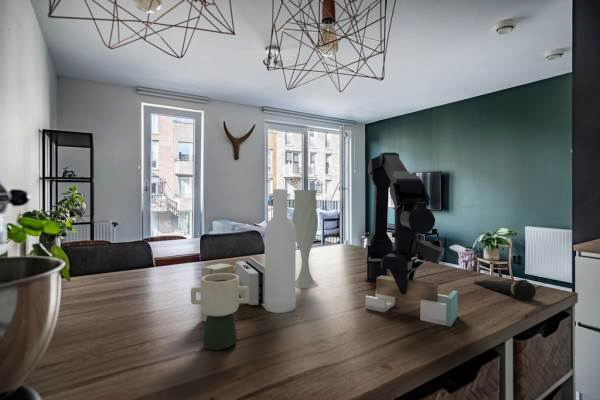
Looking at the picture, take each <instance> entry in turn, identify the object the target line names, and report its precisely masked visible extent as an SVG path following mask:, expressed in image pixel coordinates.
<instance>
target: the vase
mask: <svg viewBox="0 0 600 400" xmlns="http://www.w3.org/2000/svg"><path fill="white" fill-rule="evenodd" d="M317 192H318V189H311V190H310V189H294V190H293V193H294V208H293V213H292V222H293V224H294V227H295V231H296V245H297V246H298V250H299V253H300V257H301V266H300V272H299V274H298V276H297V278H296V279H295V288H297V289H314V288H316V287H318V286H319V283H318V282H317V281H315V279H314V278H313V276H312V274H311V272H310V265H309V259H310V254H311V253H310V252H311V250H312V248H313V244H314V242H315V239H316V236H317V233H318V225H319V220H318V212H317V211H318V210H317Z"/></svg>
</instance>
